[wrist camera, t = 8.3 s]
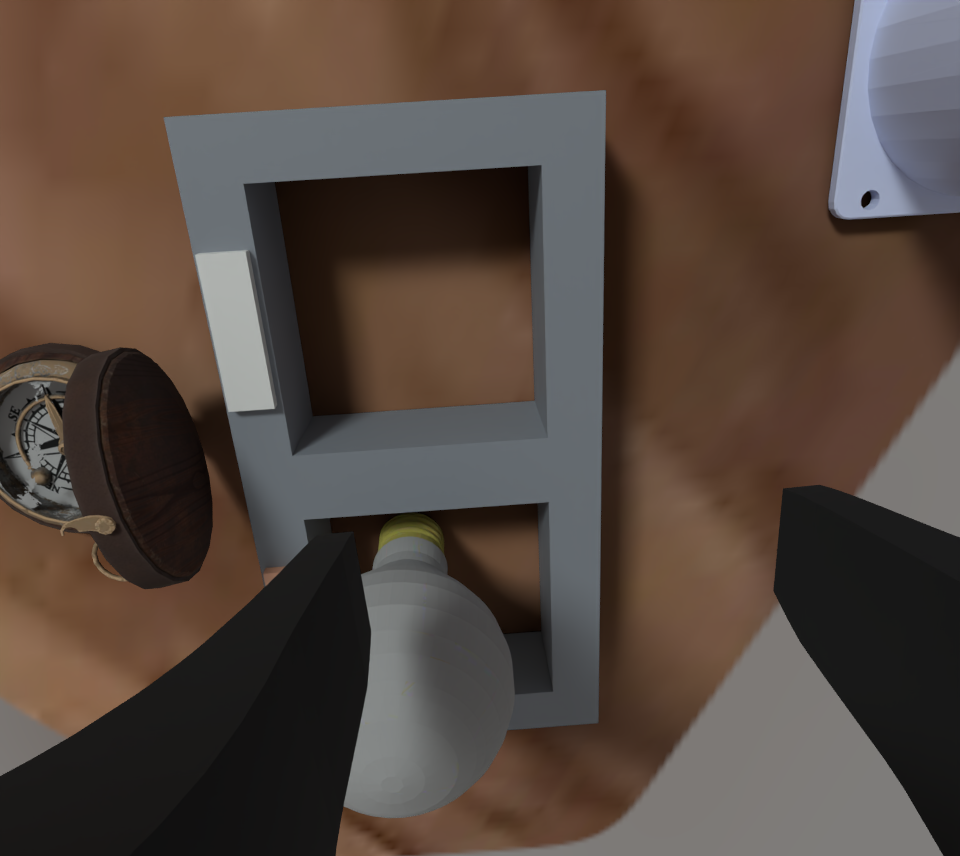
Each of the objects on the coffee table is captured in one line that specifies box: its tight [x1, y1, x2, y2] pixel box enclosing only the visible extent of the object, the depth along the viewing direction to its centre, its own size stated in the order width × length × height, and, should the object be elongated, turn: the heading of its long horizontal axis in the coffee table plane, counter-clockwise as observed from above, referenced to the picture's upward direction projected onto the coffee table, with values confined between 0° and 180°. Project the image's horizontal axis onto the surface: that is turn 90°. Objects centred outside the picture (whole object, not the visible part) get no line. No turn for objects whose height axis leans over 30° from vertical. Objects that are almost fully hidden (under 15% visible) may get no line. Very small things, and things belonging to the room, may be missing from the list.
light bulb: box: [344, 512, 515, 818], centre depth 18 cm, size 5×6×10 cm
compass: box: [0, 343, 213, 589], centre depth 18 cm, size 8×8×7 cm
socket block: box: [164, 90, 606, 730], centre depth 20 cm, size 10×19×3 cm, turn 3°
